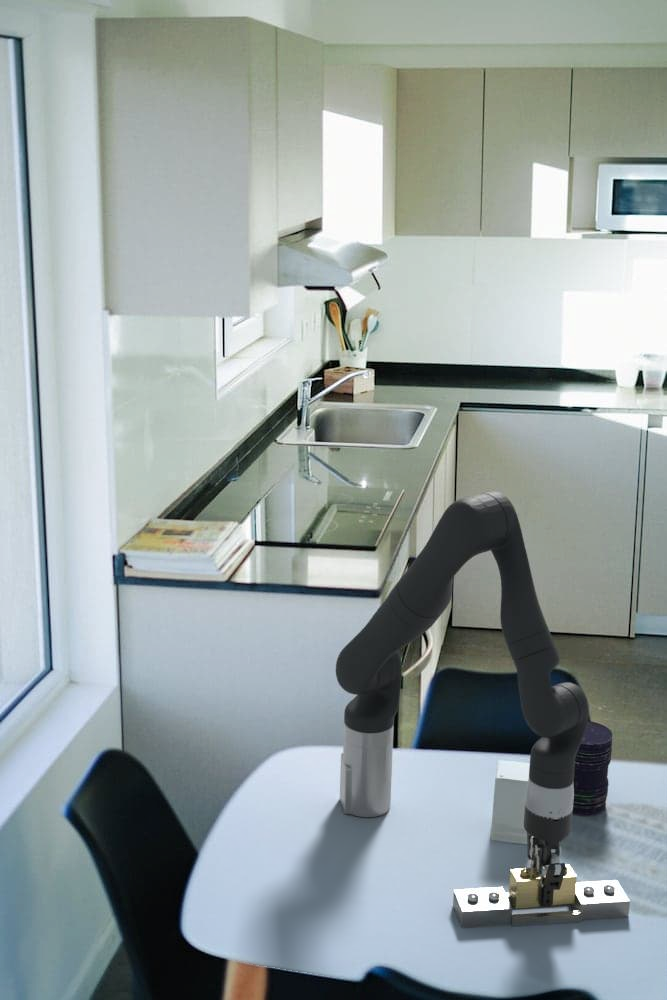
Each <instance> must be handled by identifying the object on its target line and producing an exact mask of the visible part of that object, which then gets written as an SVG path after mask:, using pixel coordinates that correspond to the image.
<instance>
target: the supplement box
mask: <svg viewBox="0 0 667 1000" xmlns="http://www.w3.org/2000/svg"><path fill="white" fill-rule="evenodd" d="M529 767H530V762H522V761H511V760H501V759H498V760H497V765H496V770H495V771H496V772H495V778H494V779H495V781H494V790H493V792H494V793H493V803H492V804H493V805H492V819H491V828H490V829H491V830H490V840H491V841H497V842H505V843H512V844H520V845H527V832H526V830H525V828H524V813H525V799H526V788H527V783H528V779H529Z"/></svg>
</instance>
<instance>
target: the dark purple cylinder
mask: <svg viewBox="0 0 667 1000" xmlns="http://www.w3.org/2000/svg"><path fill="white" fill-rule="evenodd" d="M613 737H614V735H613V732H612V730H611V729H610V728H608V727H607V726H605V725H603V724H601V723H599V722H595V721H589V720H588V722H587V726H586V729H585V732H584V735H583V738H582V741H581V744H580V747H579V749H578V752H577V754H576V757H575V770H574V780H573V781H574V782H573V785H574V800H573V812H572V816H574V815H575V816H577V817H578V816H580V817H593V816H598V815H601V814H602V813H603V812H604V811H605V810H606V807H607V805H606V804H607V798H608V793H609V785H610V784H609V778H608V773H609V765H610V763H611V760H612V752H613V746H612V745H613Z"/></svg>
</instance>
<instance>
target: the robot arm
mask: <svg viewBox="0 0 667 1000" xmlns="http://www.w3.org/2000/svg"><path fill="white" fill-rule="evenodd" d="M516 511H517V510H516V508H515V507H514V505H513V503H512V501H511V500H510V499H509V498H508V497H507V496H506V495H505V494H503V493H501V492H498V491H494V490H493V491H486V492H481V493H479V494H473V495H471V496H466V497H462V498H459V499H457V500H455V501H454V502H452V503H451V504H450V505H448V507H446V510H444V512H443V513H442V515H441V517H440V519H439V520H438V522H437V524H436V525H435V528H434V530H433V531H432V533H431V535H430V537H429V539H428V541H427V543H425V546H424V547H423V548H422V549H421V551H420V552H419V554H418V555H417V557H415V559H414V560H413V562H412V563H411V565H410V566H409V567H408V568H407V569H406V571H405V572H404V573H403V575H401V577H400V578H399V579H398V581H397V583H396V584H395V585H394V586H393V588H392V589H391V590H390V592H389V594H388V595H387V597H386V598H385V600H384V601H383V602H382V603H381V605H380V606H379V607H378V608H377V610H376V611H375V612H374V614H373V615H372V616H371V618H370V620H369V621H368V622H367V623H366V625H365V626H363V628H362V629H361V630H360V631H359V632H358V633H357V634H356V635H355V636H354V637H353V638H352V639H351V640H350V641H349V642H348V643H347V644H346V645H345V646H344V647H343V648H342V650H340V652H339V655H338V657H337V659H336V662H335V677H336V680H337V682H338V685H339V686H340V687H341V689H343V690H344V691H345V692H346V693H349V694H351V695H355V696H354V698H353V699H351V700H350V701H349V702H348V703H347V705H346V706H345V709H344V713H343V715H344V716H343V749H342V751H343V753H340V754H341V755H340V776H339V777H340V779H339V799H340V800H339V801H340V803H341V807H342V812H343V814H344V815H352V816H354V817H355V816H356V817H360V818H374V817H379V816H383V815H384V814H386V813H387V812H388V811H389V810H390V809H391V802H392V801H391V800H392V777H393V775H392V771H393V753H394V752H393V748H394V728H395V727H394V725H395V717H396V715H397V714H398V710H399V705H400V696H401V685H402V678H403V677H402V676H403V665H402V659H401V655H400V654H401V653H400V650H401V649H403V648H405V647H407V646H409V645H410V644H411V643H412V642H414V641H416V640H417V639H418V638H419V637H421V636H422V635H424V634H425V633H427V631H428V630H429V629H431V627H432V626H434V624H435V623H436V622H437V620H438V619H439V618H440V617H441V616H442V614H443V613H444V612H445V610H446V609H447V608H448V607H449V604H450V602H451V599H452V595H453V579H454V578H455V576H456V574H457V573H458V572H459V571H460V570H461V569H462V567H463V566H465V564H466V563H468V561H469V560H471V559H472V558H474V557H475V556H478V555H480V554H482V553H486V552H491V553H492V555H493V558H494V560H495V563H496V564H497V568H498V572H499V576H500V585H501V589H500V592H501V593H500V594H501V597H500V611H499V612H500V617H499V619H500V627H501V631H502V636H503V638H504V639H503V640H504V641H505V644H506V645H507V649H508V652H509V654H510V657H511V659H512V661H513V664H514V667H515V669H516V675H517V685H518V691H519V699H520V706H521V711H522V712H521V713H522V715H523V718H524V721H525V722H526V724H527V726H528V727H529V729H531V731H533V733H535V734H536V735H537V736H538V737H540V738H539V739H538V740H537V741H536V742H535V743H534V744H533V746H532V747H531V751H530V756H529V763H530V767H529V779H528V783H527V788H526V799H525V813H524V828H525V830H526V832H527V855H526V857H527V859H528V861H530V865H529V866H530V867H529V868H533V867H537V871H538V872H539V873H540V888H539V900H538V903H539V905H540V907H545V908H546V907H551V906H553V905H552V904H553V894H554V890H560V887H561V884H562V881H563V877H564V874H565V870H566V865H567V864H566V863H565V862H562V863H561V862H560V856H561V855H562V846H561V843H560V842H562V841H563V840H564V839H565V838H568V836H569V835H570V834H571V831H572V824H573V823H572V821H573V814H572V812H573V800H574V785H573V782H574V781H573V780H574V770H575V757H576V754H577V752H578V749H579V747H580V744H581V741H582V738H583V735H584V732H585V729H586V726H587V722H588V721H589V714H590V713H589V712H590V708H589V707H590V706H589V702H588V698H587V695H586V694H585V692H584V690H583V689H582V688H581V687H580V686H579V685H577V684H575V683H573V682H567V681H566V682H561V683H557V684H555V685H552V679H551V673H552V671H553V670H555V669H556V668H557V667H558V666H559V664H560V655H559V652H558V649H557V646H556V645H555V641H554V638H553V637H552V634H551V631H550V629H549V626H548V624H547V622H546V619H545V616H544V614H543V611H542V609H541V604H540V602H539V599H538V596H537V591H536V588H535V584H534V580H533V575H532V570H531V565H530V561H529V557H528V553H527V549H526V544H525V541H524V536H523V532H522V528H521V524H520V520H519V517H518V514H517V512H516ZM545 866H546V867H545ZM545 874H546V876H545Z"/></svg>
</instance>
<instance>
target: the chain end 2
mask: <svg viewBox="0 0 667 1000" xmlns="http://www.w3.org/2000/svg"><path fill="white" fill-rule="evenodd" d="M630 904H631V900H630V898H629V897H628V896H627V894H626V892H625V891H624V888H622V886H621V884H620V882H619V880H617V879H612V880H611V879H610V880H595V881H581V882H580V881H578V882H577V881H576V890H575V902H574V903H572V904H571V906H572V908H573V910H563V911H549V912H545V913H546V915H547V924H546V925H554V924H556V925H558V924H572V923H582V921H586V920H588V921H589V920H604V919H619V918H620V919H621V918H629V915H630Z"/></svg>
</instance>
